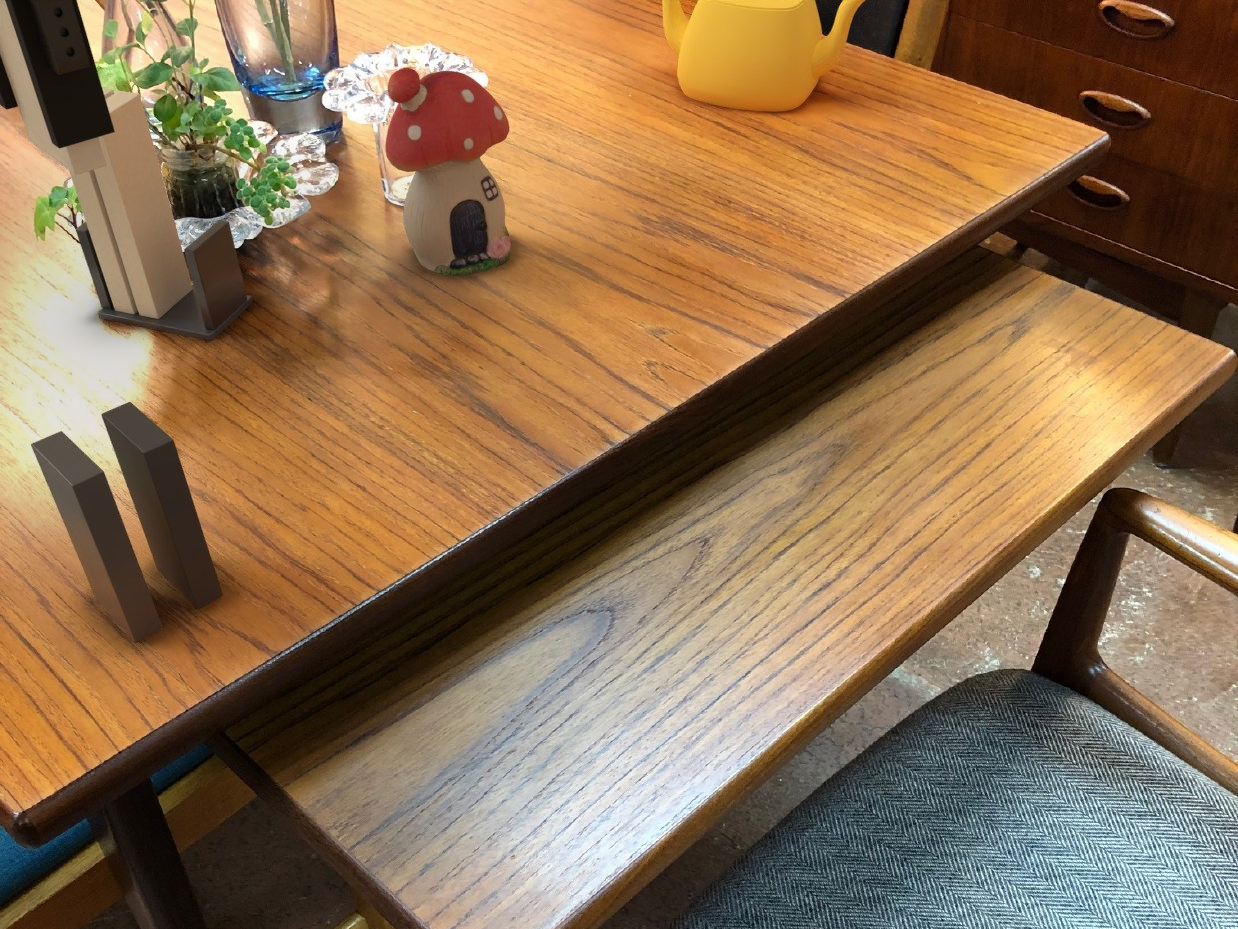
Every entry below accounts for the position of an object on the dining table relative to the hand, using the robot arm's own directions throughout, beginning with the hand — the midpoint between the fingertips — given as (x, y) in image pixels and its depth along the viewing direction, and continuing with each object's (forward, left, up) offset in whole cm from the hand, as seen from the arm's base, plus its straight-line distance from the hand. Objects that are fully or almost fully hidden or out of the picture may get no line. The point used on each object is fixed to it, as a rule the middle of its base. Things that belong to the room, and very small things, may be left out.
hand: (56, 117), depth 56 cm
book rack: (-11, +17, -22) cm, 30 cm away
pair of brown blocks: (+5, -9, -22) cm, 25 cm away
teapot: (+18, +72, -22) cm, 77 cm away
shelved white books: (-12, +17, -21) cm, 30 cm away
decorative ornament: (+5, +31, -22) cm, 38 cm away
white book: (0, 0, -2) cm, 2 cm away
